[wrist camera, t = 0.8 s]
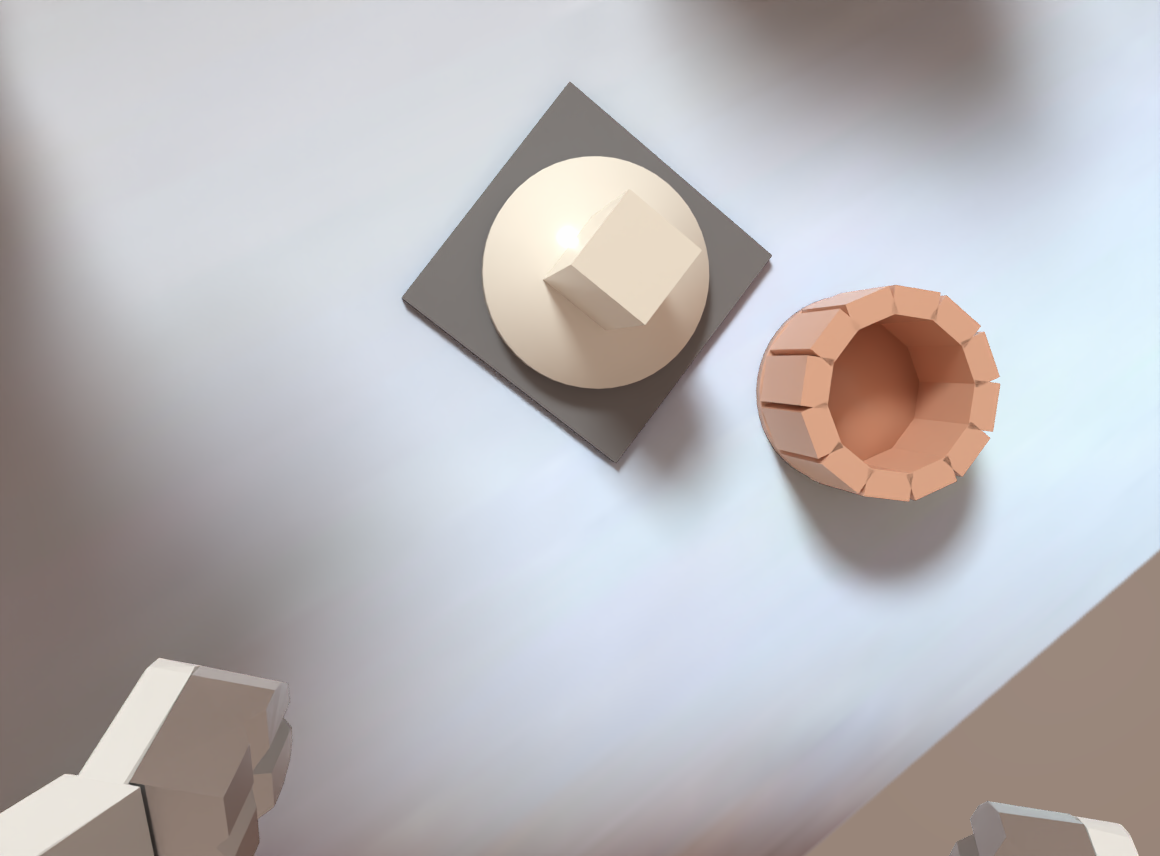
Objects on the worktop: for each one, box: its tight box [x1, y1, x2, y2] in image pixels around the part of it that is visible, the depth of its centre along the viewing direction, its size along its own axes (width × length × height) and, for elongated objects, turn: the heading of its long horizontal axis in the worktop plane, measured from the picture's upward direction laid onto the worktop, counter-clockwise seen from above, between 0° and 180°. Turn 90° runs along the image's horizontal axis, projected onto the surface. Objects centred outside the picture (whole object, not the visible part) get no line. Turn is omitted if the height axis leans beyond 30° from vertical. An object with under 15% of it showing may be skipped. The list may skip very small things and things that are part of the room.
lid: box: [481, 156, 709, 389], centre depth 39 cm, size 10×10×8 cm
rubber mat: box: [402, 82, 772, 463], centre depth 43 cm, size 12×12×1 cm
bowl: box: [756, 285, 1000, 501], centre depth 43 cm, size 9×9×5 cm
